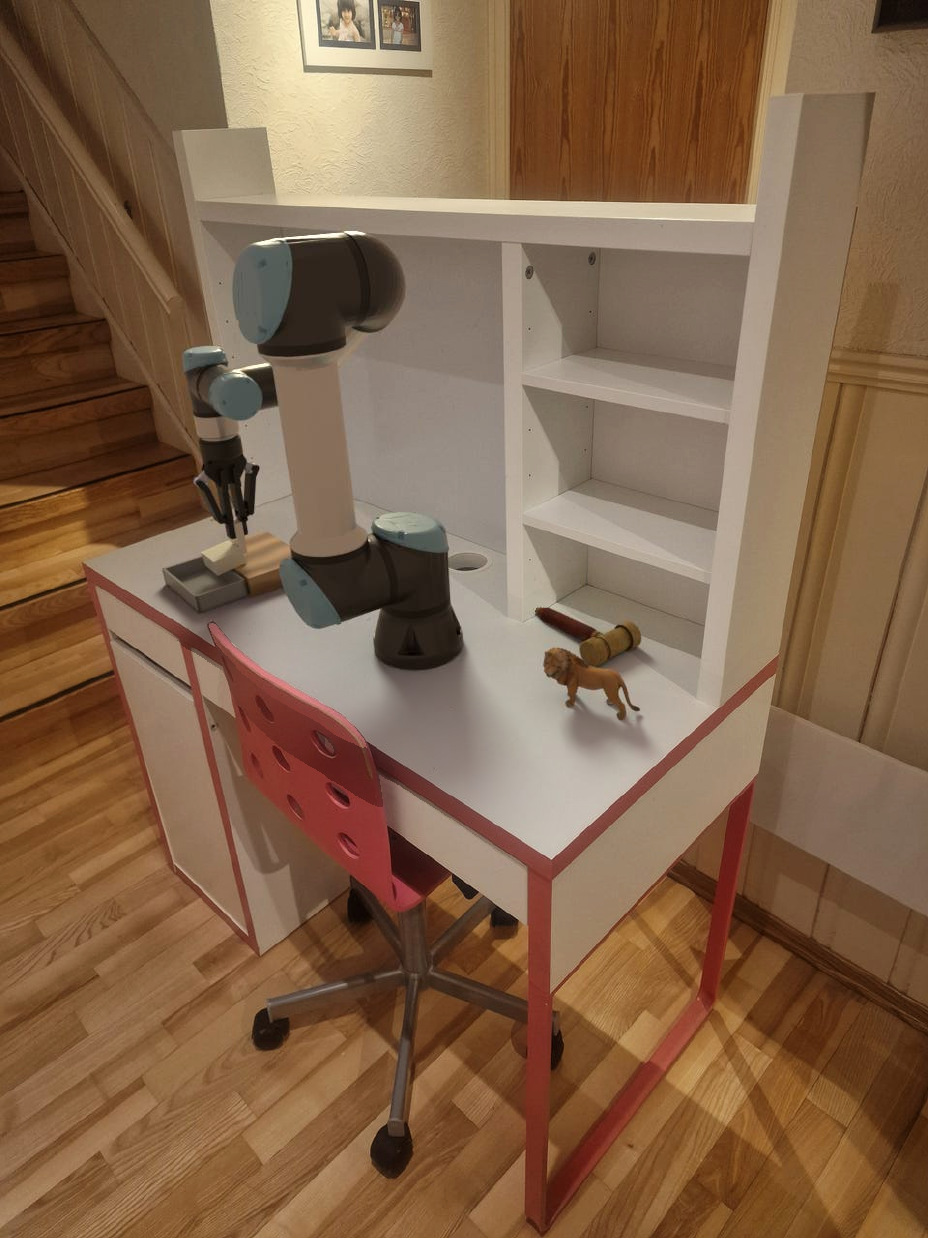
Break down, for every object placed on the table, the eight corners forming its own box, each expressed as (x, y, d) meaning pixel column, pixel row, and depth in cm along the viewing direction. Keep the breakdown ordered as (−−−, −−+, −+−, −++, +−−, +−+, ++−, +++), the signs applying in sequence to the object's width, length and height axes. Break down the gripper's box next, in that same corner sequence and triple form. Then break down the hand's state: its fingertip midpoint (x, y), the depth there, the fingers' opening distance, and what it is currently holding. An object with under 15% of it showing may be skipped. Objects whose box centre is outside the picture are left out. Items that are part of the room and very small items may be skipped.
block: (245, 562, 165) (241, 549, 163) (218, 575, 162) (213, 562, 160) (232, 553, 169) (228, 540, 167) (205, 565, 166) (200, 552, 164)
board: (311, 575, 168) (309, 557, 166) (252, 597, 161) (248, 578, 159) (269, 547, 181) (266, 530, 179) (212, 566, 174) (208, 549, 172)
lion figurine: (538, 707, 127) (539, 656, 123) (547, 687, 132) (547, 638, 127) (637, 723, 123) (641, 671, 118) (642, 702, 127) (646, 651, 123)
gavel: (512, 606, 148) (554, 588, 154) (513, 629, 150) (555, 611, 156) (598, 647, 133) (642, 625, 138) (599, 672, 135) (641, 650, 140)
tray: (248, 595, 162) (245, 579, 160) (199, 613, 157) (195, 596, 155) (212, 568, 173) (209, 553, 171) (165, 584, 168) (162, 568, 166)
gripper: (242, 422, 161) (262, 536, 173) (176, 438, 154) (202, 555, 166) (260, 431, 156) (279, 547, 167) (193, 448, 149) (218, 568, 161)
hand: (241, 551), depth 167 cm, fingers closed
